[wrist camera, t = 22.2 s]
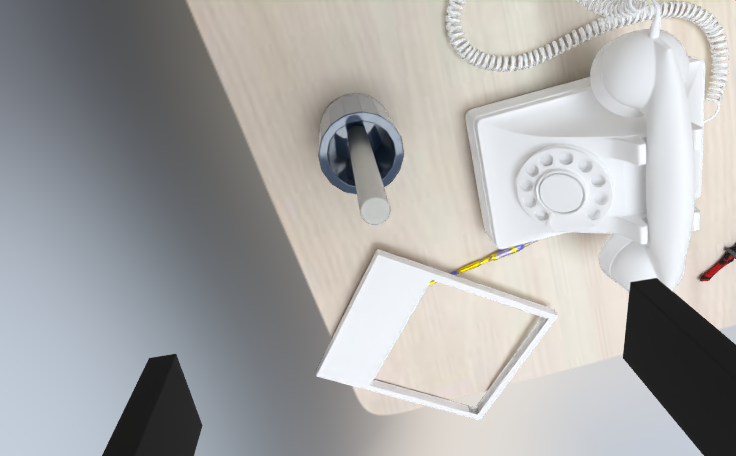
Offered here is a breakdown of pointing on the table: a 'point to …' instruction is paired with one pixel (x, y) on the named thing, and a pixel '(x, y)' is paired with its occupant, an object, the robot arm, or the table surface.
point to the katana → (720, 264)
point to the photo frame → (388, 318)
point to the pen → (491, 258)
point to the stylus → (367, 178)
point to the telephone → (602, 144)
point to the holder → (336, 145)
